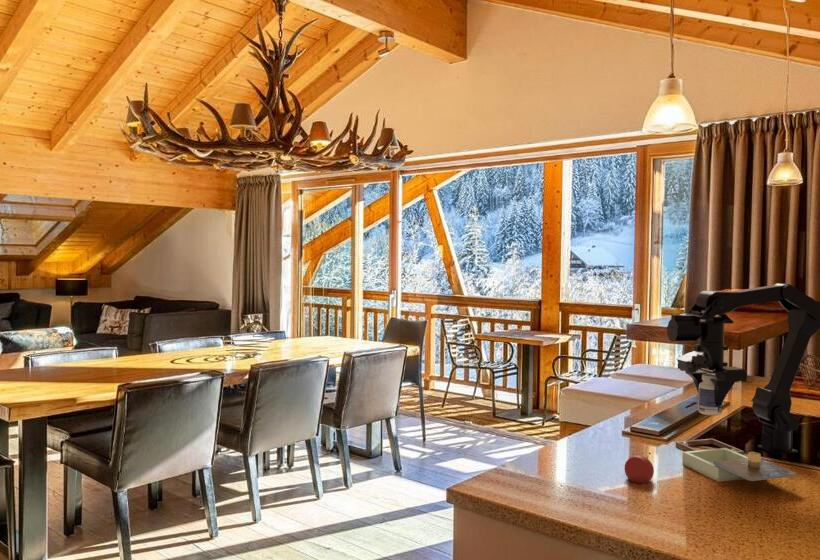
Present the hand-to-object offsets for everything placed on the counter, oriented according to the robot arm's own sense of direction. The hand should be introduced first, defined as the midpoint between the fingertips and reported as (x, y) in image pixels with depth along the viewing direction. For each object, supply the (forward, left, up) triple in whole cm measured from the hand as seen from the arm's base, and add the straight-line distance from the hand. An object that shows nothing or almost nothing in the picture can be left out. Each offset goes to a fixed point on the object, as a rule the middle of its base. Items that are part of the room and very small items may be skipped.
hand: (710, 403), depth 163 cm
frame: (0, -1, -12) cm, 13 cm away
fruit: (+28, +12, -13) cm, 33 cm away
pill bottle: (0, 0, -3) cm, 3 cm away
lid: (+7, +22, -9) cm, 25 cm away
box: (+7, +12, -12) cm, 19 cm away
